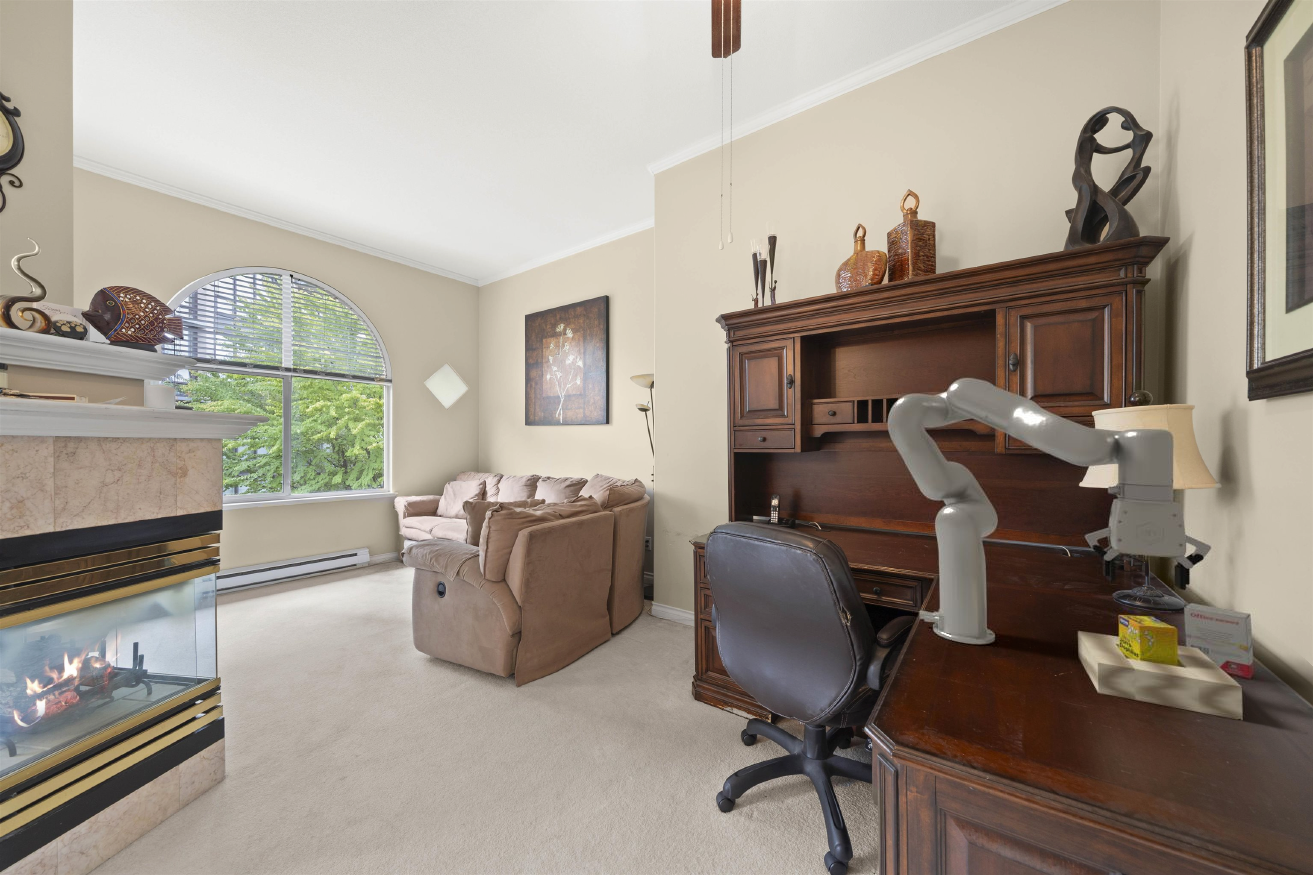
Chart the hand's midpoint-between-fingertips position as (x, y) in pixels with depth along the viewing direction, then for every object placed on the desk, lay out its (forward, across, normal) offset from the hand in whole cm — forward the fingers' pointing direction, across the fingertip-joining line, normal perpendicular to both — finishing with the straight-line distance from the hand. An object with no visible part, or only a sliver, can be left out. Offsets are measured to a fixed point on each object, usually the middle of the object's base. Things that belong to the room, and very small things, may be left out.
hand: (1144, 583), depth 95 cm
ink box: (+19, +15, +16) cm, 29 cm away
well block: (+19, +1, 0) cm, 19 cm away
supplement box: (+18, 0, 0) cm, 18 cm away
